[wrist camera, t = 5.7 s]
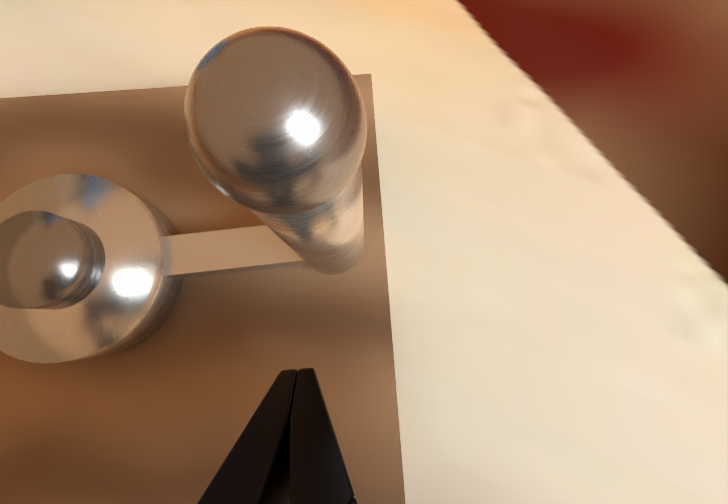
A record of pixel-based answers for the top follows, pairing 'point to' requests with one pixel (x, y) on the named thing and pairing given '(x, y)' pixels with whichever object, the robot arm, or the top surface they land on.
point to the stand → (190, 328)
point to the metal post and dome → (224, 171)
